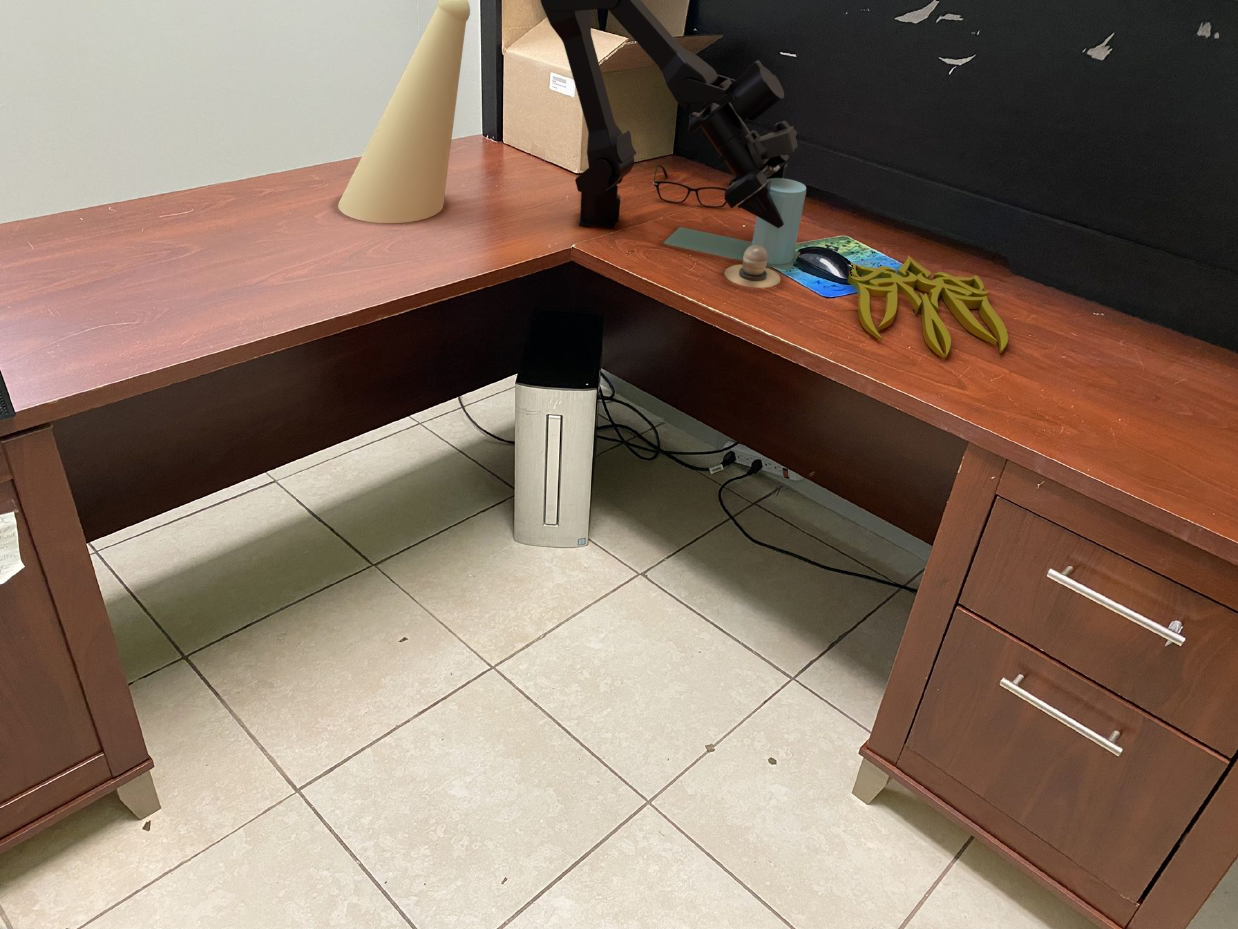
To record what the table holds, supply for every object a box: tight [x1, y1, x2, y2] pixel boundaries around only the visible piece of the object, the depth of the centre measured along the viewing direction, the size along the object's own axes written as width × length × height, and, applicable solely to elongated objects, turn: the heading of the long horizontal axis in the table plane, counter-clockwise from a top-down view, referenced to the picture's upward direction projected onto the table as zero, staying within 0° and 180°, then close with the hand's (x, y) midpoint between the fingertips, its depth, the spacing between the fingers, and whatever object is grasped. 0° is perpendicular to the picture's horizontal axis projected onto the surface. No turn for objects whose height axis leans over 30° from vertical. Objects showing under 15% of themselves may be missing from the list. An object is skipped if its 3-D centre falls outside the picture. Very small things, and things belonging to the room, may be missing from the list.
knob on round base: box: [723, 245, 781, 289], centre depth 137 cm, size 9×9×6 cm
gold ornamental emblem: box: [847, 254, 1009, 359], centre depth 133 cm, size 22×2×35 cm
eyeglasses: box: [652, 164, 735, 209], centre depth 170 cm, size 16×16×4 cm
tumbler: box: [751, 178, 807, 264], centre depth 142 cm, size 7×7×12 cm
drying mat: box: [662, 226, 801, 272], centre depth 148 cm, size 22×9×1 cm, turn 68°
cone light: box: [337, 0, 471, 224], centre depth 144 cm, size 25×18×35 cm
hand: (786, 219), depth 141 cm, fingers closed on tumbler, 7 cm apart
